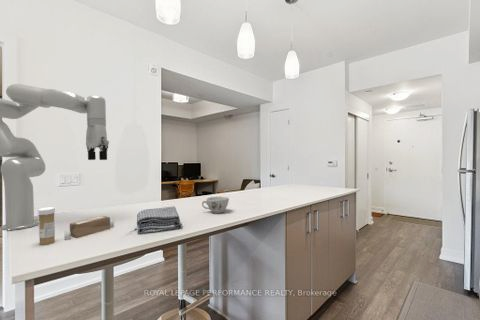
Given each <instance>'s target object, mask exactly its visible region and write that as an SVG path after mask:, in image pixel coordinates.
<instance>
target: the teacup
mask: <svg viewBox="0 0 480 320" xmlns="http://www.w3.org/2000/svg"><path fill="white" fill-rule="evenodd" d="M229 199H230V198H229V197H228V196H227V197H226V196H211V197H207V198H206V200H203V201H202V202H201V206H202V207H203V208H204V209H205V210H206V209H207V210H210V211H211V212H212V213H213V214H222V213H224V211H225V210H226V209H227V207H228V204H229ZM204 204H206V206H207V207H206V206H205V205H204Z"/></svg>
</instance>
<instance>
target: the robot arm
mask: <svg viewBox="0 0 480 320" xmlns="http://www.w3.org/2000/svg"><path fill="white" fill-rule="evenodd" d="M5 93H6V96H7V97H8V98H9V99H10V100H9V99H4V98H1V97H0V157H2V158H9V159H6V160H4V161H3V163H2V164H1V166H0V174H1V176H2V179H3V186H4V208H5V211H4V212H5V213H4V214H5V224H3V225H1V226H0V230H1V231H17V230H24V229H28V228H32V227H35V226H37V225H39V220H37V219H36V220H35V217H34V216H35V206H34V205H35V204H34V186H33V182H32V180H31V178H35V177H36V178H37V177H39V176H41V175H43V174H44V173H45V172H46V164H45V160H44V159H43V157H42V156H41V154H40V152H39V150H38V149H37V146H36V145H35V144H34V143H33V142H32V141H31V140H29V139H27V138H24V137H17V136H15V135H14V133H13V132H12V131H11V129H10V127H9V125H8V124H7V123H5V121H3V120H2V119H1V118H4V119H9V120H18V119H21V118H23V117H24V116H26V115H27V114H29V113H31V112H32V111H34V110H36V109H37V108H39V107H41V108H46V109H48V108H50V107H54V108H58V109H63V110H68V111H72V112H75V113H79V114H82V115H83V114H86V126H87V128H86V133H85V134H86V135H85V146H86V149H87V151H86V152H87V159H88V160H89V161H95V160H96V149H97V148H98V149H99V152H98V153H99V155H98V157H99V160H100V161H107V160H108V149H109V145H110V141H109V140H108V135H107V134H108V133H107V128H106V127H107V119H106V118H107V114H106V112H107V111H106V110H107V109H106V100H105V98H104V97H103V96H98V95H89V96H87V97H84V96H81V95H78V94H76V93H73V92H70V91H66V90H60V89H53V88H43V87H38V86H32V85H26V84H20V83H14V84H11V85H9V86H7V87H6V90H5ZM88 160H87V161H88ZM8 229H10V230H8Z"/></svg>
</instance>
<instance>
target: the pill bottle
mask: <svg viewBox="0 0 480 320" xmlns="http://www.w3.org/2000/svg"><path fill="white" fill-rule="evenodd" d="M37 211H38V213H37V214H38V230H39V231H38V236H39V246H49V245H52V244H54V243H55V235H56V233H55V232H56V226H55V224H56V223H55V211H56V210H55V207H54V206H53V207H52V206H49V207H41V208H39V209H38V210H37Z"/></svg>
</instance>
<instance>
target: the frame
mask: <svg viewBox="0 0 480 320" xmlns="http://www.w3.org/2000/svg"><path fill="white" fill-rule="evenodd" d="M110 220H111V217H110V216H107V215H102V216H98V217H92V218H87V219H83V220H80V221H75V222H70V223H69V231H70V236H71V237H74V238H79V239H81V238H80V237H83V236H86V237H88V236H87V235H90V234H93V235H95V234H94V233H97V234H99V233H98V232H101V231H104V232H106V231H105V230H108V229H110ZM108 231H109V230H108ZM101 233H102V232H101ZM90 236H91V235H90ZM83 238H84V237H83Z"/></svg>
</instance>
